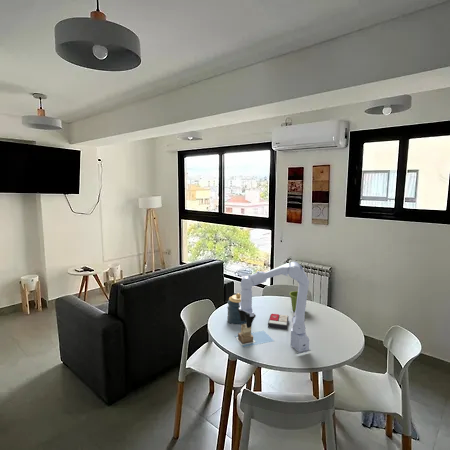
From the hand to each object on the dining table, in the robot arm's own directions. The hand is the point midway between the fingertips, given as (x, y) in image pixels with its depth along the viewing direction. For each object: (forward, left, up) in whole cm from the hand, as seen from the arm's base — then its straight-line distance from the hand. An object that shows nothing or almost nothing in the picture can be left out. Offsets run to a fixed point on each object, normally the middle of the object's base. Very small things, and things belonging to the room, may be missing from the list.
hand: (245, 324), depth 158 cm
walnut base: (0, 0, -9) cm, 9 cm away
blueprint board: (0, -5, -10) cm, 11 cm away
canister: (+24, -6, -10) cm, 27 cm away
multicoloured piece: (+12, -27, -11) cm, 31 cm away
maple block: (0, 0, -6) cm, 6 cm away
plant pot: (+25, -50, -10) cm, 57 cm away
